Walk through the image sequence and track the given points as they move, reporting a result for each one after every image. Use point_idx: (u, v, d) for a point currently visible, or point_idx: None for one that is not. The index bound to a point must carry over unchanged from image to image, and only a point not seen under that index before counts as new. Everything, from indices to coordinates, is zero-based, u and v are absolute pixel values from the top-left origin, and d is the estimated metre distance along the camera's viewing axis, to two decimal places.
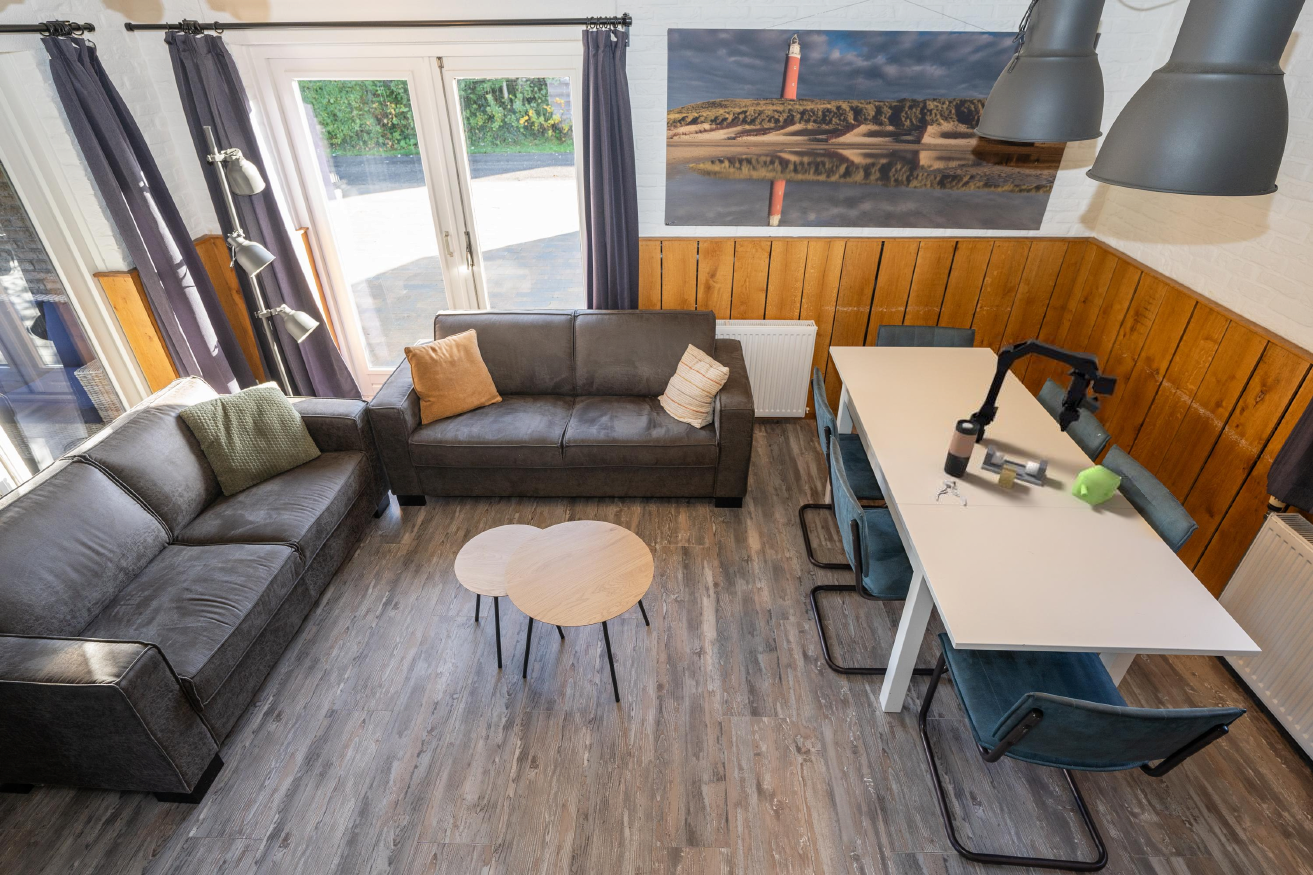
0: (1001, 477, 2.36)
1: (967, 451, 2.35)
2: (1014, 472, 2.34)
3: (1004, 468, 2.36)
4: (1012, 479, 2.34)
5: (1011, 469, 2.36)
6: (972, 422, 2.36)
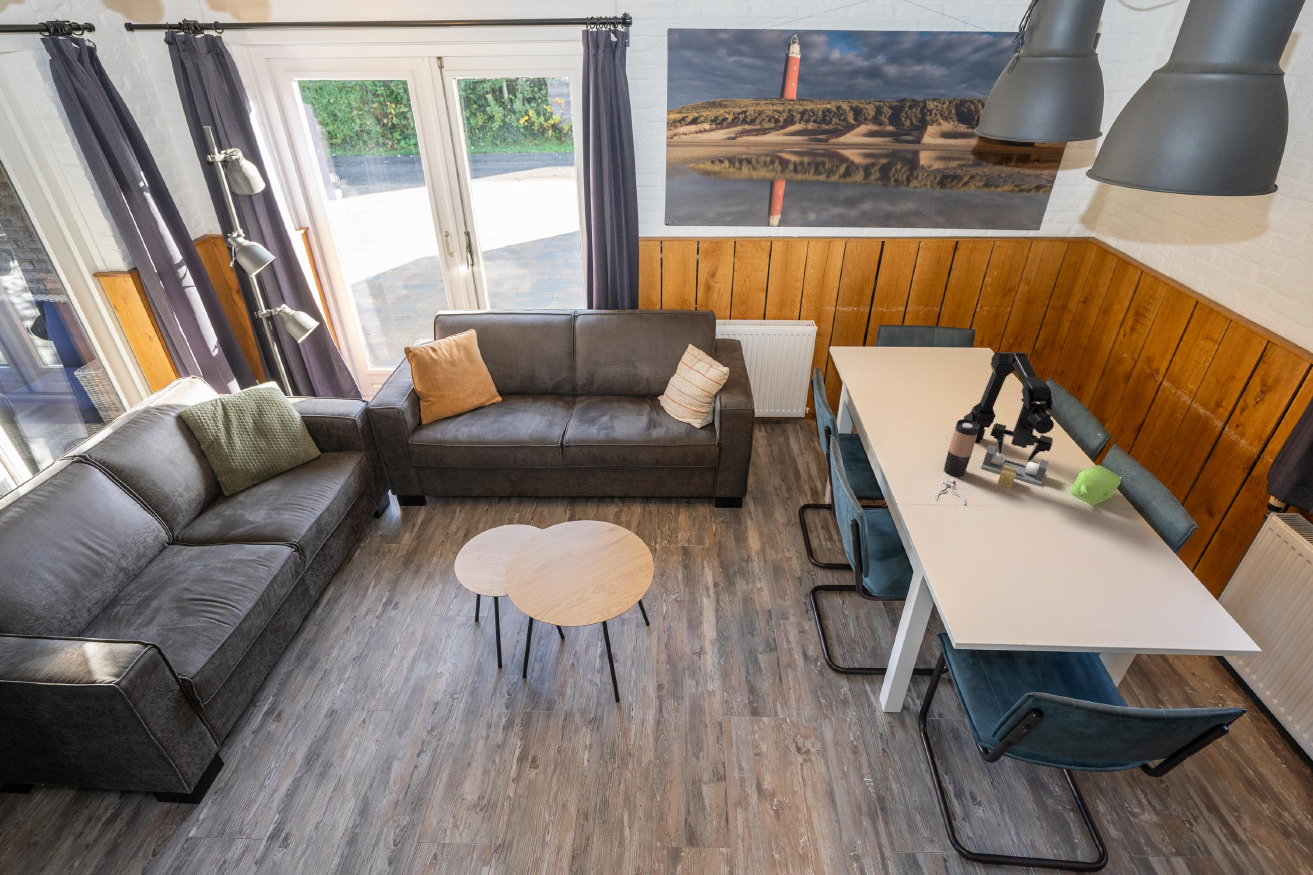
0: (1001, 477, 2.36)
1: (967, 451, 2.35)
2: (1014, 472, 2.34)
3: (1004, 468, 2.36)
4: (1012, 479, 2.34)
5: (1011, 469, 2.36)
6: (972, 422, 2.36)
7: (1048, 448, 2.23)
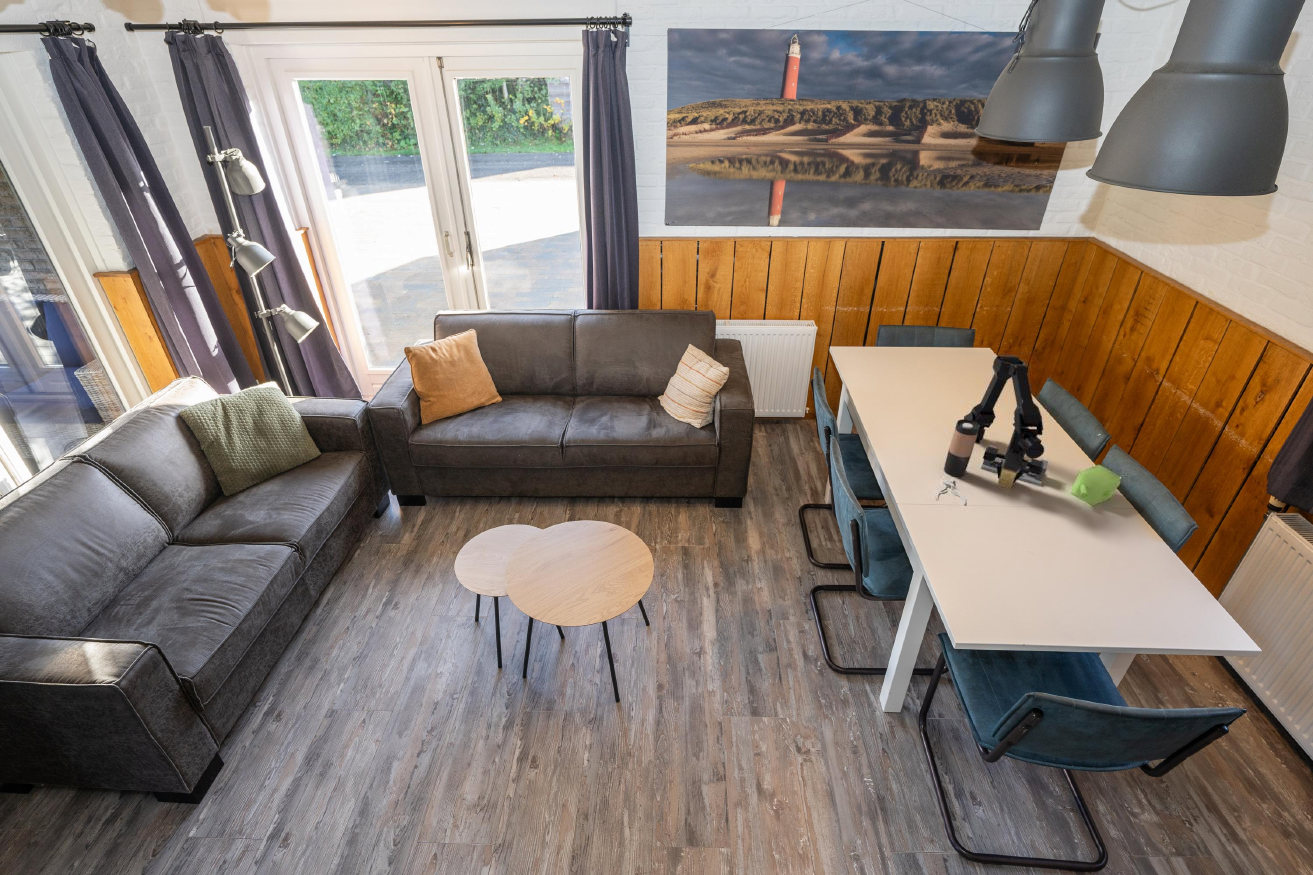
0: (1001, 477, 2.35)
1: (967, 451, 2.35)
2: (1014, 472, 2.34)
3: None
4: (1012, 479, 2.34)
5: None
6: (972, 422, 2.36)
7: (1039, 472, 2.28)
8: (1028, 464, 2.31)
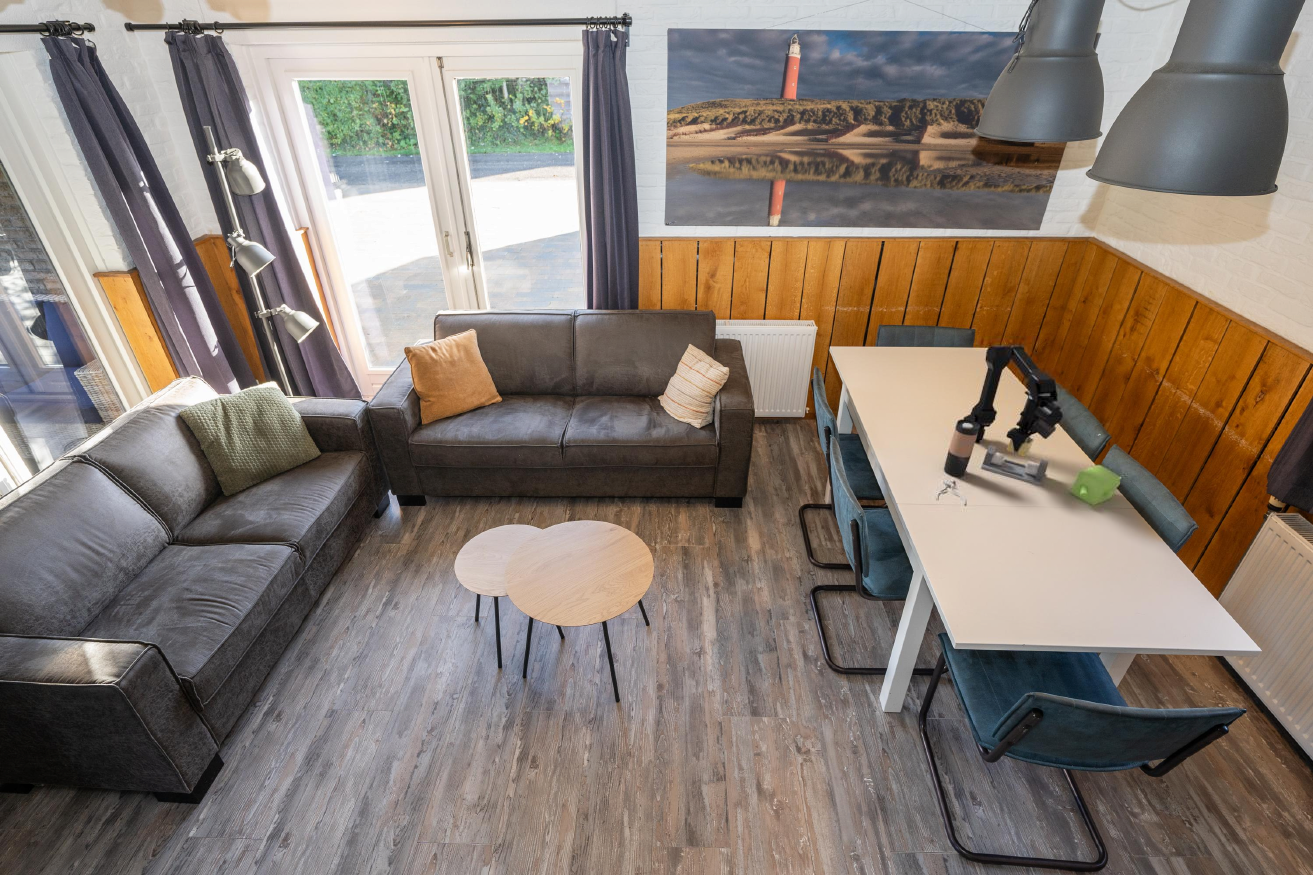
0: (1027, 448, 2.35)
1: (967, 451, 2.35)
2: None
3: None
4: (1031, 443, 2.37)
5: None
6: (972, 422, 2.36)
7: None
8: None
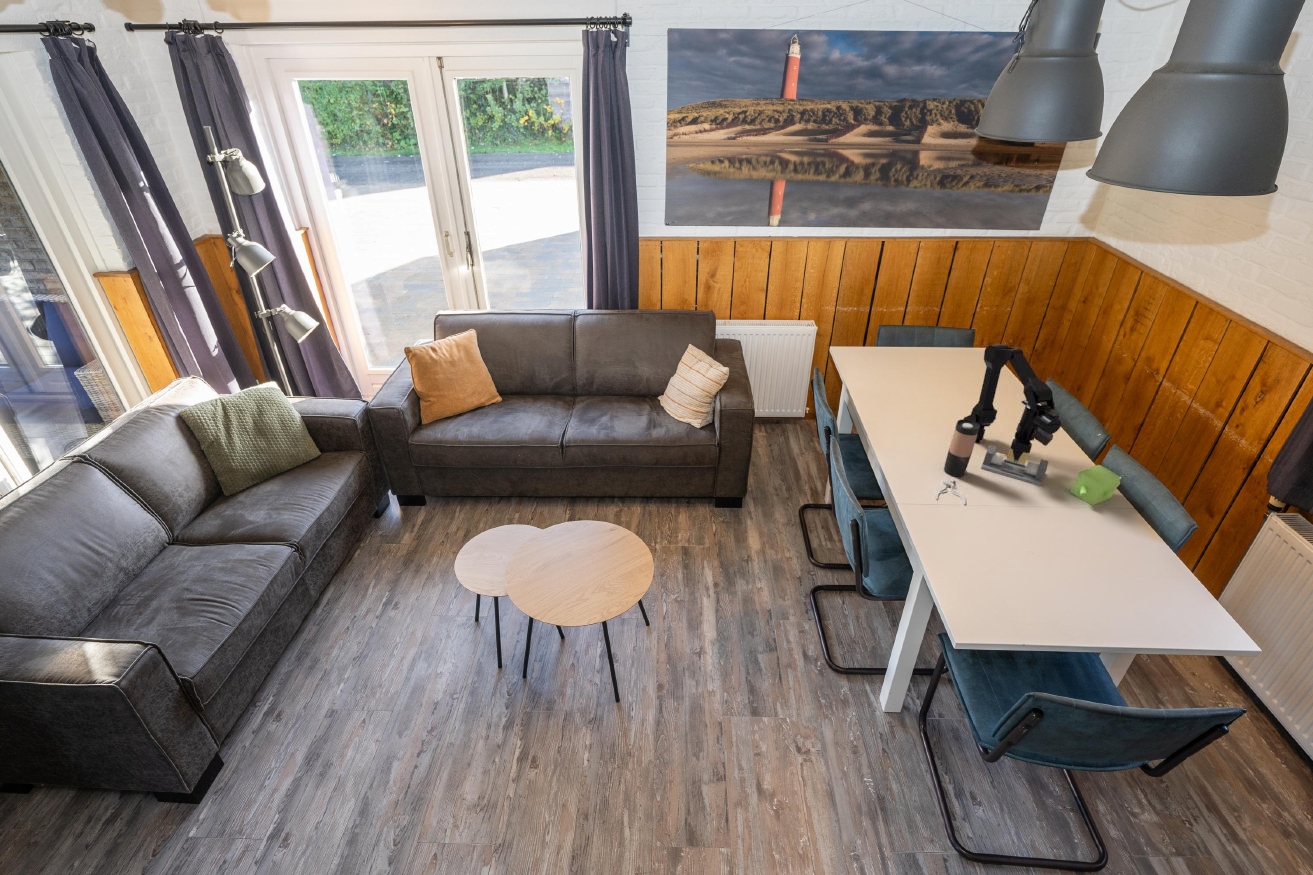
0: None
1: (967, 451, 2.35)
2: None
3: None
4: None
5: None
6: (972, 422, 2.36)
7: None
8: None
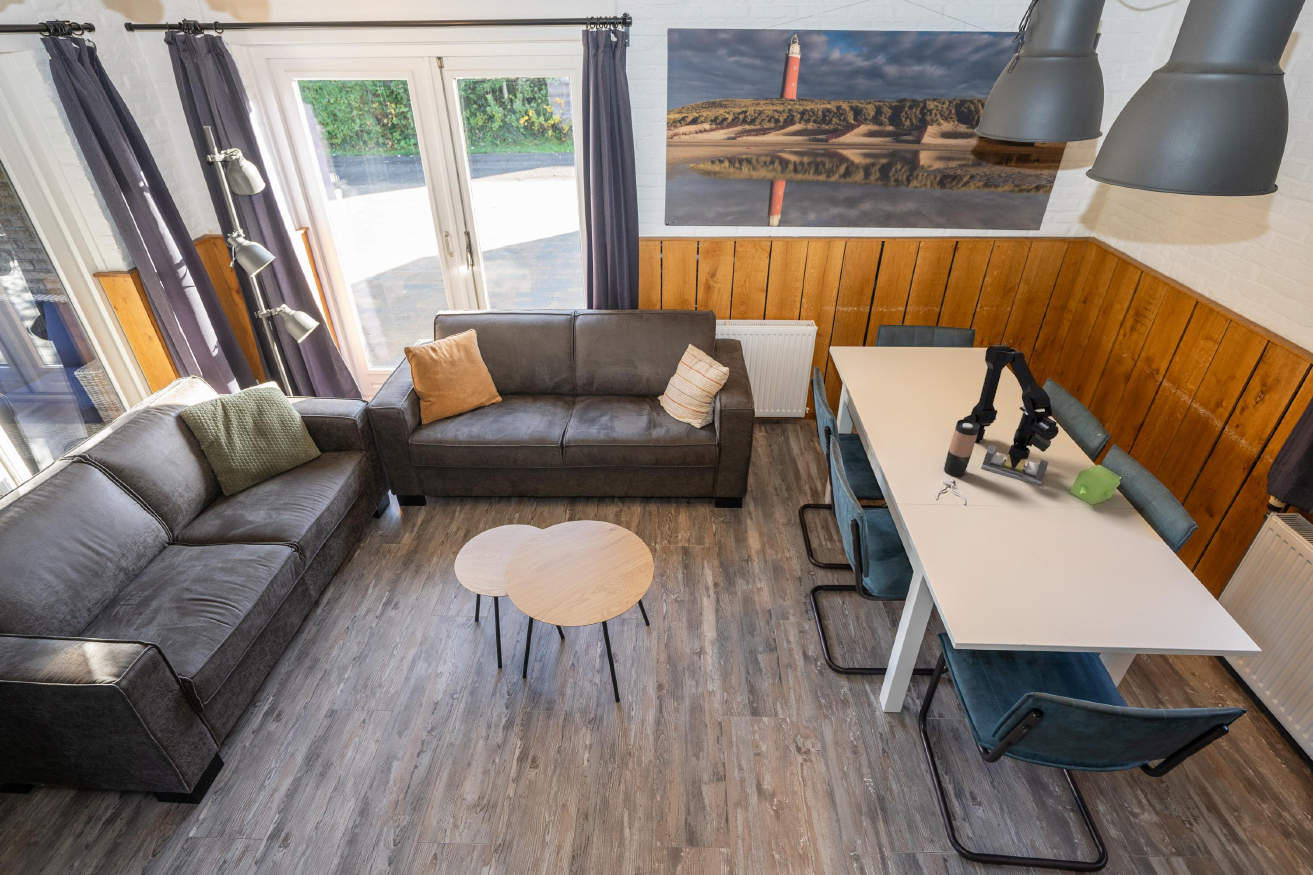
0: None
1: (967, 451, 2.35)
2: None
3: None
4: None
5: None
6: (972, 422, 2.36)
7: None
8: None
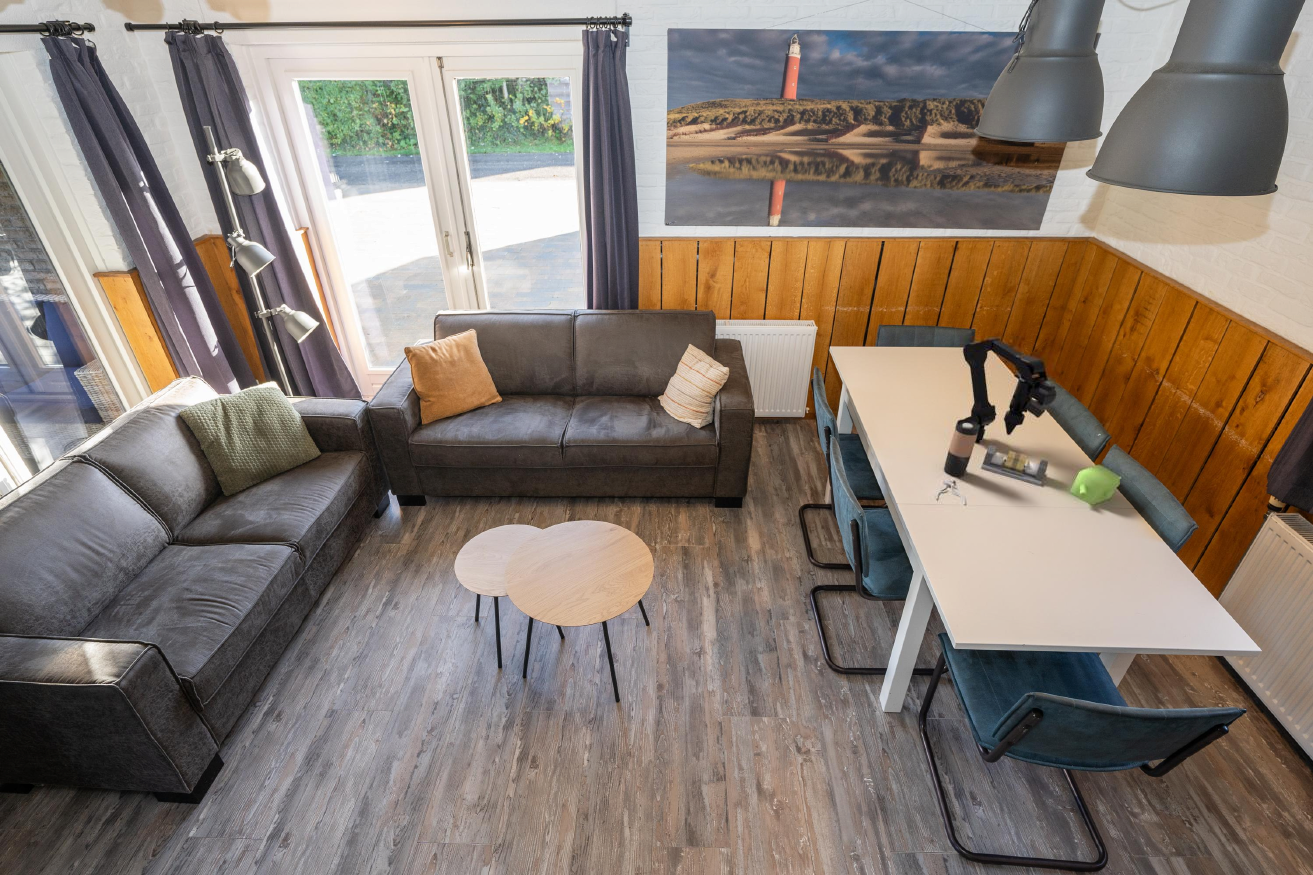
0: None
1: (967, 451, 2.35)
2: (1020, 454, 2.43)
3: (1017, 457, 2.41)
4: None
5: (1015, 454, 2.43)
6: (972, 422, 2.36)
7: None
8: None
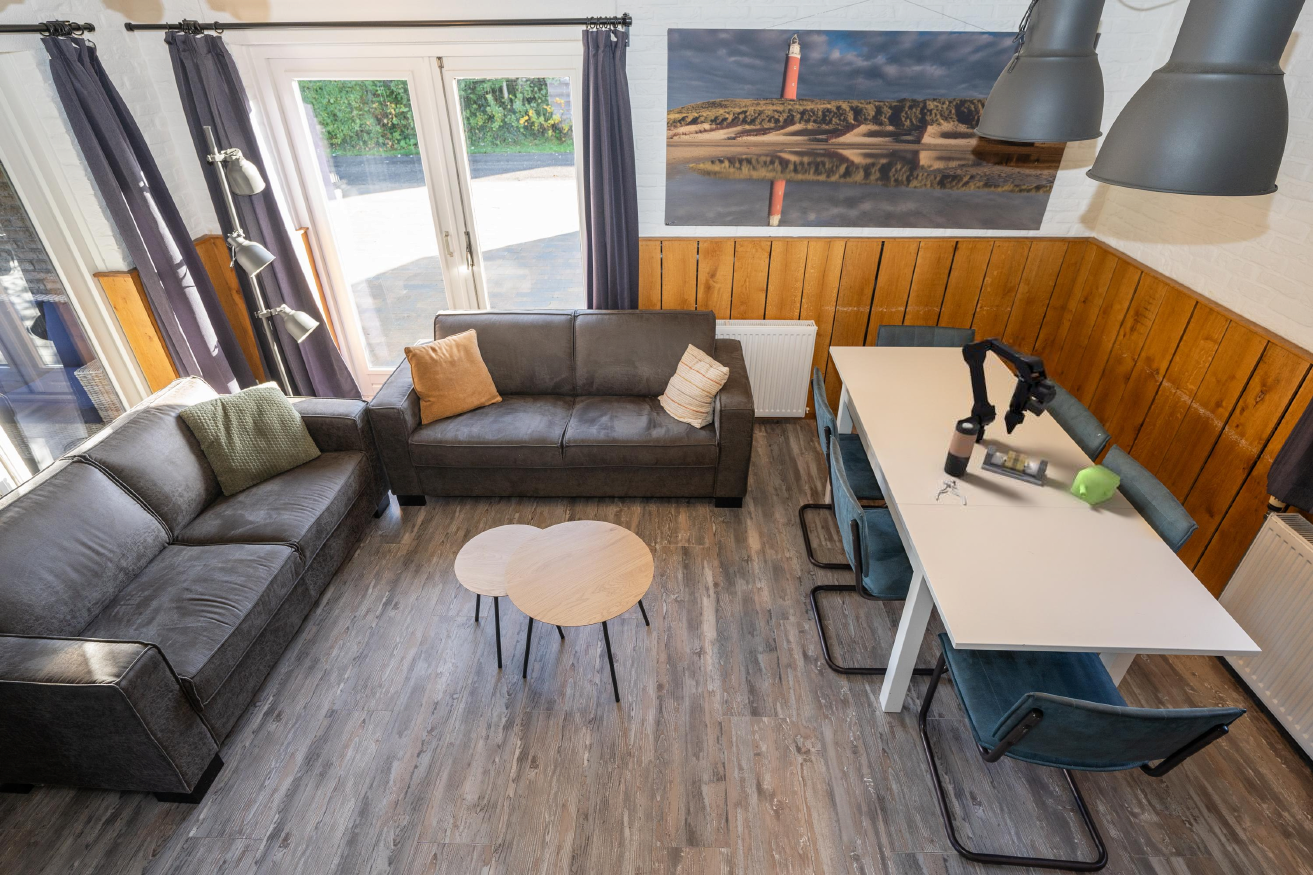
0: None
1: (967, 451, 2.35)
2: (1020, 454, 2.43)
3: (1017, 457, 2.41)
4: None
5: (1015, 454, 2.43)
6: (972, 422, 2.36)
7: None
8: None
